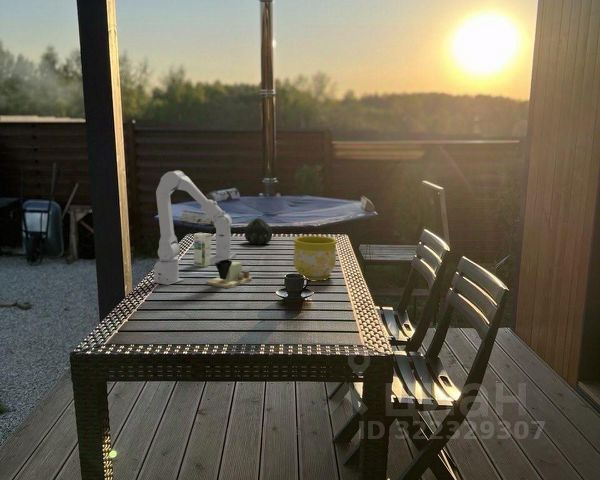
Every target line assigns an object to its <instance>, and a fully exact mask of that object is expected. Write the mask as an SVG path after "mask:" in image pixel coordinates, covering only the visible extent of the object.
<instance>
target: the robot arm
mask: <svg viewBox="0 0 600 480" xmlns="http://www.w3.org/2000/svg"><path fill="white" fill-rule="evenodd" d="M176 190H180V191H184V192H186V193H188V194H189V195H190V196H191V197H192V198H193V199H194V200H195V201H196V202H197V203H198V204H199V205H200V207H201V211H202V212H203V213H204V214H205V215H206V216H207V217H208V219H209V220H211V222H212V223H213V226H214V228H215V229H216V230H215V231H216V232H215V255H214V256H212V257H211V259H210V264H211V265H215V267H216V269H217V272H218V277H220V279H226V277H227V273H228V270H229V267H230V266H231V264H232V262H233V261H232V260H233V259H237V253H236V252H231V244H232V243H231V242H232V241H231V237H232V234H231V226H232V224H233V219H232V217H231V215H230V214H228V213H226V211H225V210H222V209H221V207H219V205H218V202H217V201H216V200H213V199H208V198H207V197H206V196H205V194H203V193H202V191H201V190H200V189H199V188H198V187H197V185H196V184H194V183H193V181H192V180H191V178H190V177H189V176H187V175H186V174H185V172H183V171H181V170H177V169H176V170H174V171H168V172H166V173H164V174H163V176H162V177H160V181H159V184H158V186H157V188H156V191H155V196H156V205H157V213H158V221H159V230H160V238H159V242H158V245H159V247H158V249H157V255H158V258H159V261H158V262H156V263H155V264H154V266H153V275H154V276H153V277H154V278H153V280H152V282H153V283H157V284H160V285H166V286H168V285H172V284H176V283H178V282H182V281H184V278H180V277H179V274H180V273H179V272H180V271H179V269H180V268H179V256H178V255H179V254H180V252H181V245H180V244H179V243H178V237H177V236H176V235H175V230H174V220H173V210H172V202H171V195H172V194H173V192H175V191H176Z"/></svg>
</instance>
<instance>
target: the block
mask: <svg viewBox="0 0 600 480" xmlns="http://www.w3.org/2000/svg"><path fill="white" fill-rule="evenodd" d="M242 270H243V262H240V261H239V262H238V261H232V264H231V266H230V267H229V270H228V273H227V277H226V279H223V280H228V281H231V280H234V279H237V278H238V273H242Z"/></svg>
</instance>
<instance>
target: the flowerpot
mask: <svg viewBox="0 0 600 480" xmlns="http://www.w3.org/2000/svg"><path fill="white" fill-rule="evenodd" d="M337 242H338V241H337V240H336V239H335V238H332V237H328V236H322V235H321V236H319V235H317V236H316V235H305V236H298V237H297V236H296V237H295V238H294V239H293V243H294V245H293V246H294V249H293V265H294V268H295V270H296V272H297V273H299V274H302V275H304V276H305V277H306V278H308V279H309V280H324V279H328V278H329V279H330V278H331V276H332V274H331V273H332V272H333V270H334V268H335V266H336V263H337V253H336V248H337V247H336V246H337V245H336V244H338V243H337ZM329 279H328V280H329Z"/></svg>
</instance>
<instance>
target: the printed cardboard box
mask: <svg viewBox="0 0 600 480" xmlns="http://www.w3.org/2000/svg"><path fill="white" fill-rule="evenodd" d="M211 258H212V233H205V232H204V233H203V232H197V233H194V234H193V266H195V267H201V268H205V267H208V266H211V265H212V264H210V259H211Z"/></svg>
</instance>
